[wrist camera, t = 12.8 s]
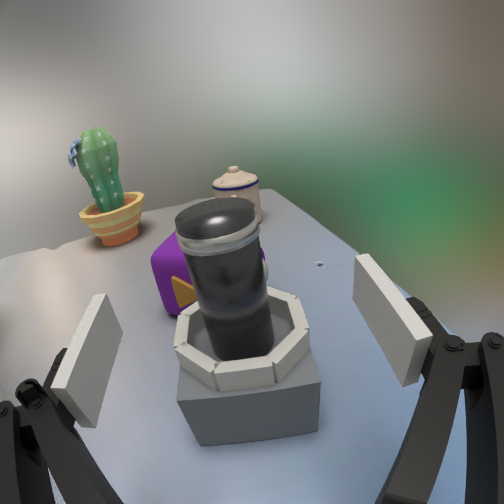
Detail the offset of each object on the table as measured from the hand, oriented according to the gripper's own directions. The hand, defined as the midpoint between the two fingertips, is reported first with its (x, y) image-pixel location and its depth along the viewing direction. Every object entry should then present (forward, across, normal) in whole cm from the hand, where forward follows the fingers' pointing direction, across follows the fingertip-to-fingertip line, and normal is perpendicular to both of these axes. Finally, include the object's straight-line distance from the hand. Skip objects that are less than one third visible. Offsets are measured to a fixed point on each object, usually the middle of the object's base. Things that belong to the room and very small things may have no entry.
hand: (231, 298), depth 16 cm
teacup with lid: (+47, +1, -16) cm, 49 cm away
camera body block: (+6, 0, -15) cm, 16 cm away
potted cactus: (+51, -26, -15) cm, 59 cm away
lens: (+6, 0, -8) cm, 10 cm away
